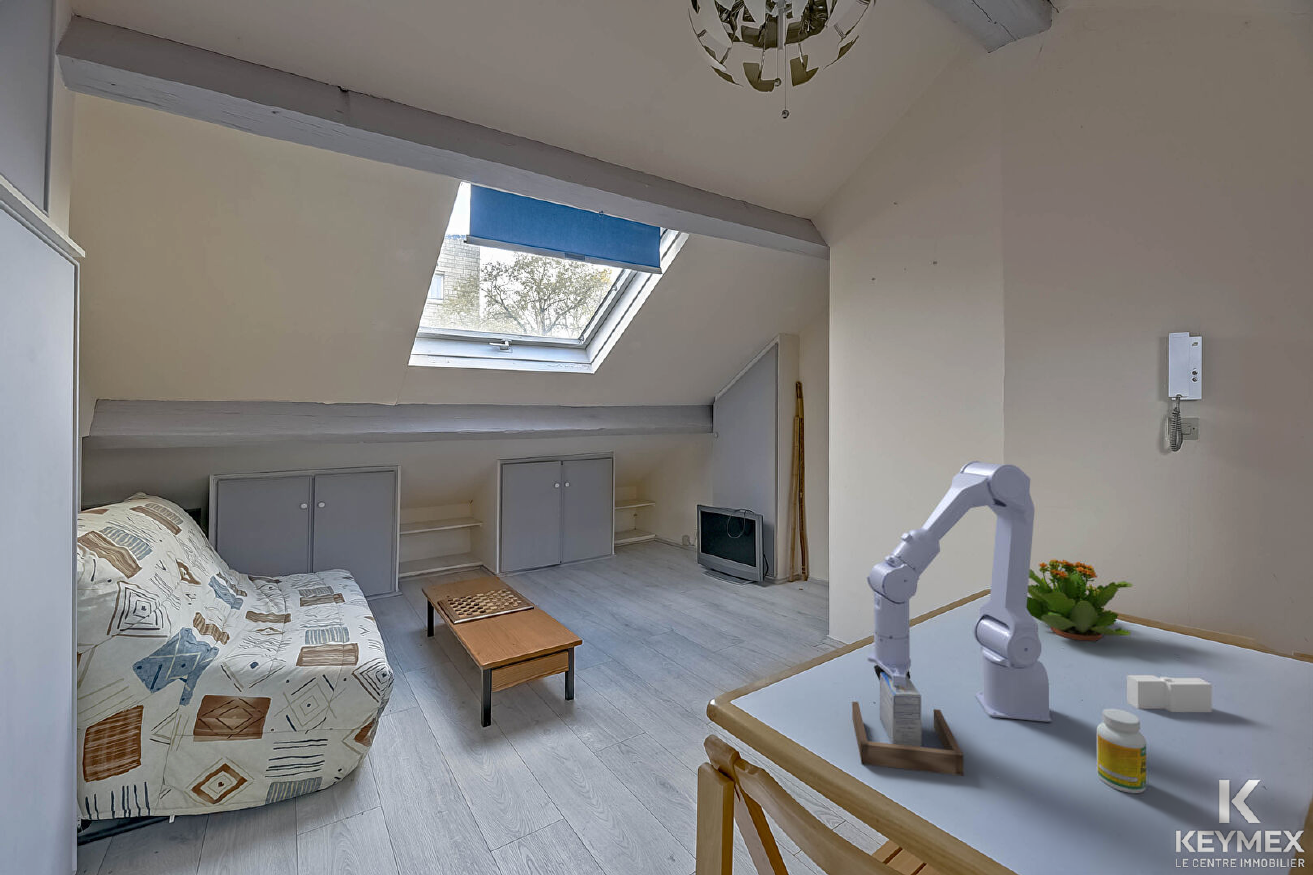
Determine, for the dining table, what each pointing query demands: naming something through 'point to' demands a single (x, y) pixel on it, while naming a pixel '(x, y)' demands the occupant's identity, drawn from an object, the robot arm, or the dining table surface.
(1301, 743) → the dining table surface
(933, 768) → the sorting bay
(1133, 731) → the supplement bottle
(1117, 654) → the dining table surface
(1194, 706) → the white notched double block
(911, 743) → the medicine box
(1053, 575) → the potted flower
